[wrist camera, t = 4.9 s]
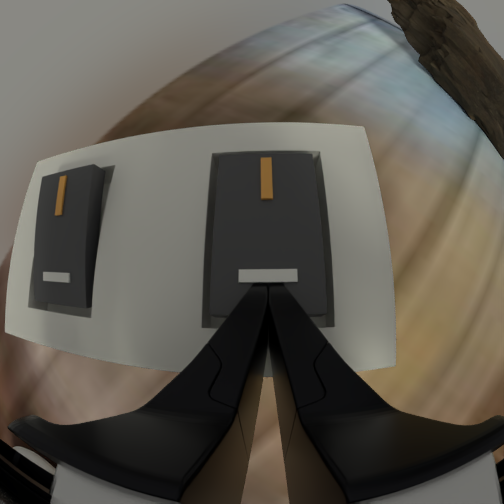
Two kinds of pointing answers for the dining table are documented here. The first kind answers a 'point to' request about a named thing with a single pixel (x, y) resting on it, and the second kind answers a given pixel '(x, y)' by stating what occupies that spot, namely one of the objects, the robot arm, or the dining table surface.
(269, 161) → the rocker
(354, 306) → the box
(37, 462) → the flower in vase
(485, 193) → the dining table surface
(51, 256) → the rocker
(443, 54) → the driftwood
